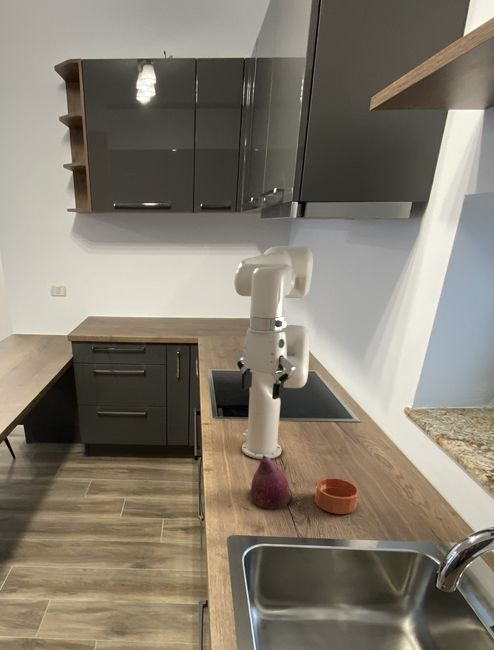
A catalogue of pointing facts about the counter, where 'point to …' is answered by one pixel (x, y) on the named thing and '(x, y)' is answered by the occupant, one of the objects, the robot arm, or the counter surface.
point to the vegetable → (269, 485)
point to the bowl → (336, 495)
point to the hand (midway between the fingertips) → (261, 393)
